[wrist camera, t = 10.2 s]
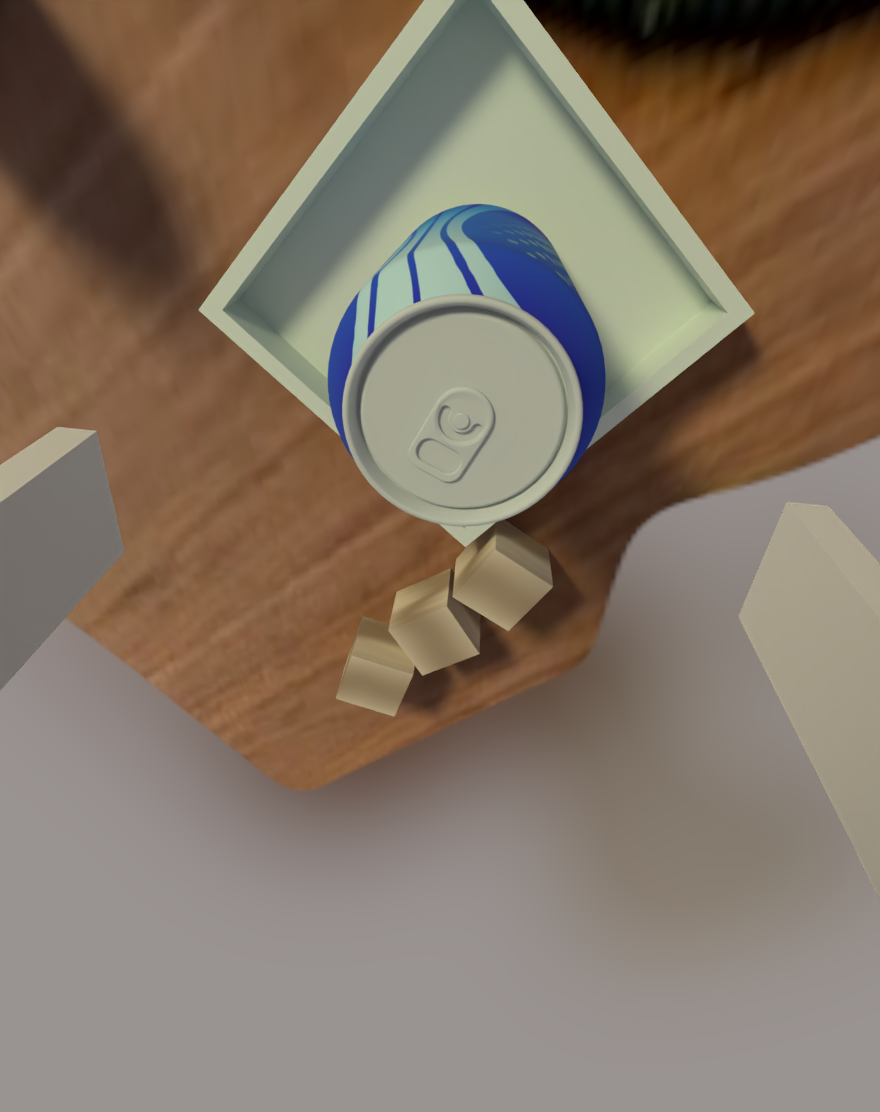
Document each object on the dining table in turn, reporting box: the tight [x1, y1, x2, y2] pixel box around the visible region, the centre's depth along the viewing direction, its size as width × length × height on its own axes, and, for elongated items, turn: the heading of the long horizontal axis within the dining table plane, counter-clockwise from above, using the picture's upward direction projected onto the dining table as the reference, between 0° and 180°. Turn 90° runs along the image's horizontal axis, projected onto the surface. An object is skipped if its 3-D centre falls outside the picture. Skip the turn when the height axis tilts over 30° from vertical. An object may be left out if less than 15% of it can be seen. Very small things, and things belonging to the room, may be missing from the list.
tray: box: [199, 0, 754, 547], centre depth 30 cm, size 18×18×3 cm
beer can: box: [328, 204, 606, 526], centre depth 24 cm, size 8×8×16 cm
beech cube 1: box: [453, 520, 553, 631], centre depth 38 cm, size 4×4×4 cm
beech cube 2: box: [388, 569, 481, 676], centre depth 40 cm, size 4×4×4 cm
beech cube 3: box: [336, 616, 415, 716], centre depth 43 cm, size 4×4×4 cm
